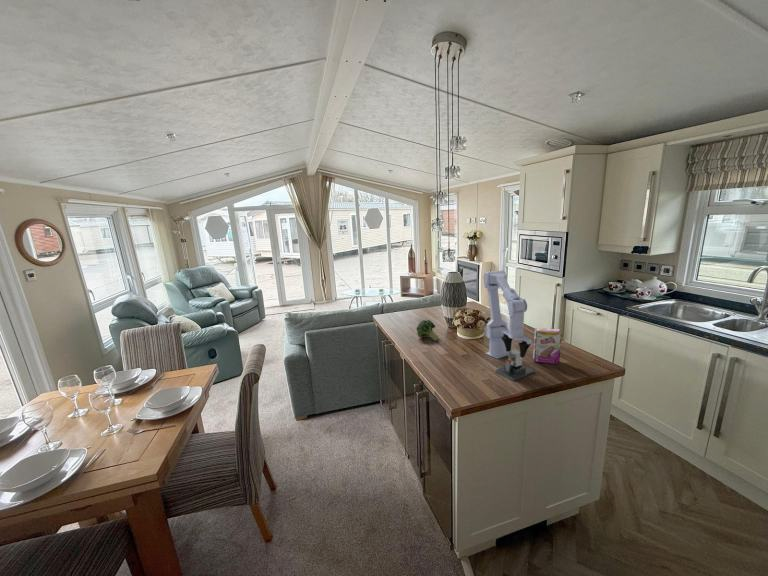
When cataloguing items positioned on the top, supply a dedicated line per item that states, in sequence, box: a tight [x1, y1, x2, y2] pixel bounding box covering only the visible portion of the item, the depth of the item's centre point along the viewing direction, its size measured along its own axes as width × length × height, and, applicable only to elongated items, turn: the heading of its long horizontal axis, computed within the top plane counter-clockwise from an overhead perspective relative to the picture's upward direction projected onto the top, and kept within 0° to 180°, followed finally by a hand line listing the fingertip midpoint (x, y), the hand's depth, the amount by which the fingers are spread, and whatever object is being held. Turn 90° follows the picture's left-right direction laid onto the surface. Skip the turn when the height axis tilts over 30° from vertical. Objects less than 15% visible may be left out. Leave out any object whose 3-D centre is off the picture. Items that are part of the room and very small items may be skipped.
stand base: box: [495, 358, 535, 382], centre depth 143 cm, size 14×10×7 cm
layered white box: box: [507, 349, 523, 367], centre depth 142 cm, size 5×4×6 cm
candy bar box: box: [532, 327, 563, 365], centre depth 151 cm, size 11×5×16 cm, turn 71°
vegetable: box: [416, 319, 439, 342], centre depth 190 cm, size 12×13×15 cm
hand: (515, 353), depth 142 cm, fingers open, 7 cm apart
